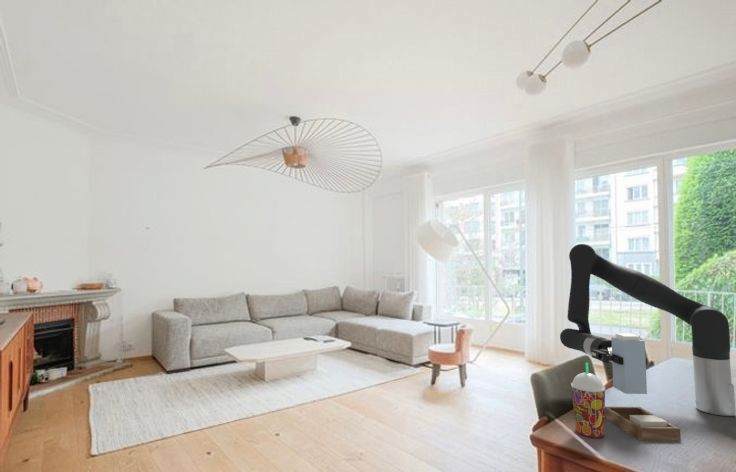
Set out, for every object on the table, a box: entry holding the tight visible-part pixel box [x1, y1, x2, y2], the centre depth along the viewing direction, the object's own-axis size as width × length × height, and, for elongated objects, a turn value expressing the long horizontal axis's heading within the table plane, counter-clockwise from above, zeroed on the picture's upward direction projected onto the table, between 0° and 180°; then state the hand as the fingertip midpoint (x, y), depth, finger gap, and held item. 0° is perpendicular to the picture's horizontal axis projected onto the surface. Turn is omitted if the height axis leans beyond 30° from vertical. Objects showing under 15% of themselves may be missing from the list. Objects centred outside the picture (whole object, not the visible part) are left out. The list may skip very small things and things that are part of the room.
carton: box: [610, 333, 648, 395], centre depth 116 cm, size 6×6×16 cm
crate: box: [604, 406, 682, 441], centre depth 112 cm, size 16×11×4 cm
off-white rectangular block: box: [630, 414, 668, 427], centre depth 108 cm, size 4×7×4 cm, turn 89°
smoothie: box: [570, 362, 606, 439], centre depth 109 cm, size 8×8×20 cm
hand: (633, 361), depth 114 cm, fingers closed on carton, 6 cm apart
